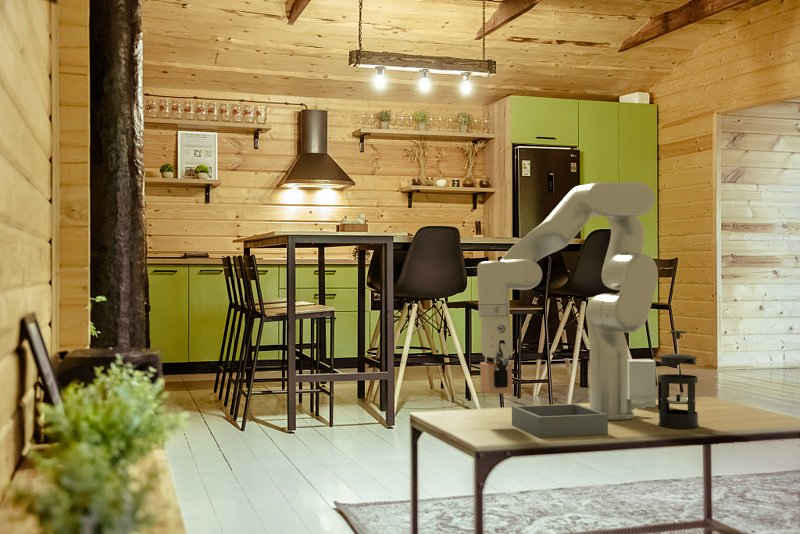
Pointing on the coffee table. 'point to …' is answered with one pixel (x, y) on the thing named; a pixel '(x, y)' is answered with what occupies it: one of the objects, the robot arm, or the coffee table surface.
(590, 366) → the robot arm
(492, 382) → the small crate
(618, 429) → the coffee table surface
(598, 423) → the grey square tray
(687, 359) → the french press
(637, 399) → the supplement box
